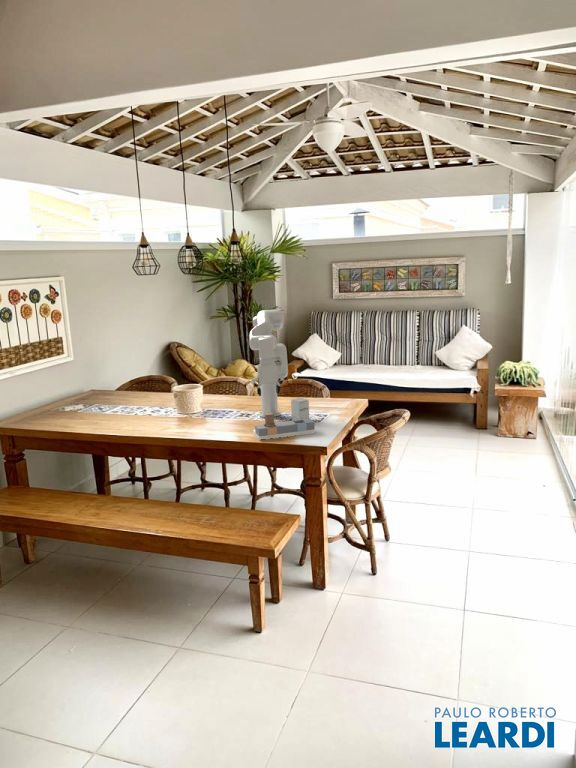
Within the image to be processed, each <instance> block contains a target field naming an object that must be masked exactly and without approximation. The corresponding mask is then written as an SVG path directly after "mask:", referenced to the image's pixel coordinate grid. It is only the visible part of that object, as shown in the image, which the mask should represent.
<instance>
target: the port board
mask: <svg viewBox="0 0 576 768" xmlns="http://www.w3.org/2000/svg"><path fill="white" fill-rule="evenodd" d="M274 423H275V426H273V427H265V423H263V424H255V425H254V429H252V434H253V435H254V437H256V439H257V440H258V441H262V440H261V439H266V440H271V439H270V438H273V439H280V438H279V437H281V438H287V436H288V437H296V436H301V435H309V434H311V435H312V434H315V433H316V429H315V428H316V427H315V426H316V425H315V421H314V420H312V419H311V418H309V419H301V420H293V421H292V420H288V421H287V420H285V421H280V422H279V421H277V422H274ZM295 435H296V436H295Z"/></svg>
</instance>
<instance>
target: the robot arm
mask: <svg viewBox="0 0 576 768" xmlns="http://www.w3.org/2000/svg"><path fill="white" fill-rule="evenodd" d="M284 321H285V319H284V314H283V312H282V310H280V309H278V308H277V309H263V310H262V309H261V310H260V311H259V312H258V313H257V315H255V316H254V317H253V318H252V325H253V328H252V329H251V330H250V331H249V336H248V340H249V341H248V345H249V348H250V349H251V350H252V351H258V356H259V357H258V358H259V359H258V362H259V364H257V373H256V374H257V375H256V377H253V378H252V379H251V380H250V381H251V382H252V385H253V386H254V387H255V388H256V391H257V393H256V394H257V395H258V396H259V397H260V399H261V401H260V403H261V412H260V413H259V416H260V417H261V418H265V414H267V413H273V414H274V418H276V417H279V416H281V414H282V412H281V411H279V407H278V406H279V405H278V395H280V392H281V385H282V384H283V382H284V381H285V378H286V377H288V375H289V370H288V369H289V368H288V365H289V364H288V353H287V352H288V351H287V346H286V345H285V344H284V343H278V339H277V337H276V336H275V335H273V333H272V332H273V330H281V329H283V327H284V324H285V323H284ZM279 379H280V380H279ZM256 381H257V383H256Z"/></svg>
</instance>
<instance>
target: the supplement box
mask: <svg viewBox="0 0 576 768" xmlns="http://www.w3.org/2000/svg"><path fill="white" fill-rule="evenodd" d="M309 403H310V400H309V399H308V398H303V397H299V398H294V399H291V400H290V406H291V407H290V408H291V421H293V420H301V419H310V406H309V405H310V404H309Z"/></svg>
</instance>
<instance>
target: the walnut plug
mask: <svg viewBox="0 0 576 768" xmlns="http://www.w3.org/2000/svg"><path fill="white" fill-rule="evenodd" d="M275 423H276V422H275V417H274V414H273V413H267V414H265V417H264V424H265V427H273V426H275Z"/></svg>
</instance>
